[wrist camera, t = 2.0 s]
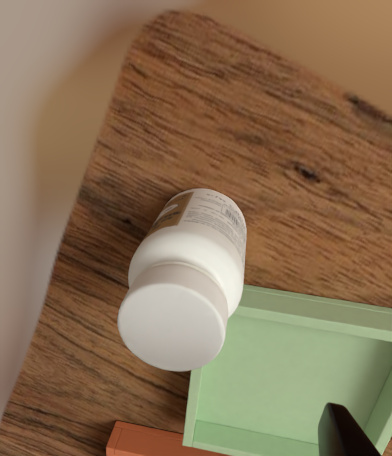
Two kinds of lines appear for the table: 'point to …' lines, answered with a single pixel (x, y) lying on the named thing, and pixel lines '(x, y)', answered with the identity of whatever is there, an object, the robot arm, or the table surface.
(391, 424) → the sage tray
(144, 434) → the terracotta tray
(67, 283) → the table surface
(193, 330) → the pill bottle
